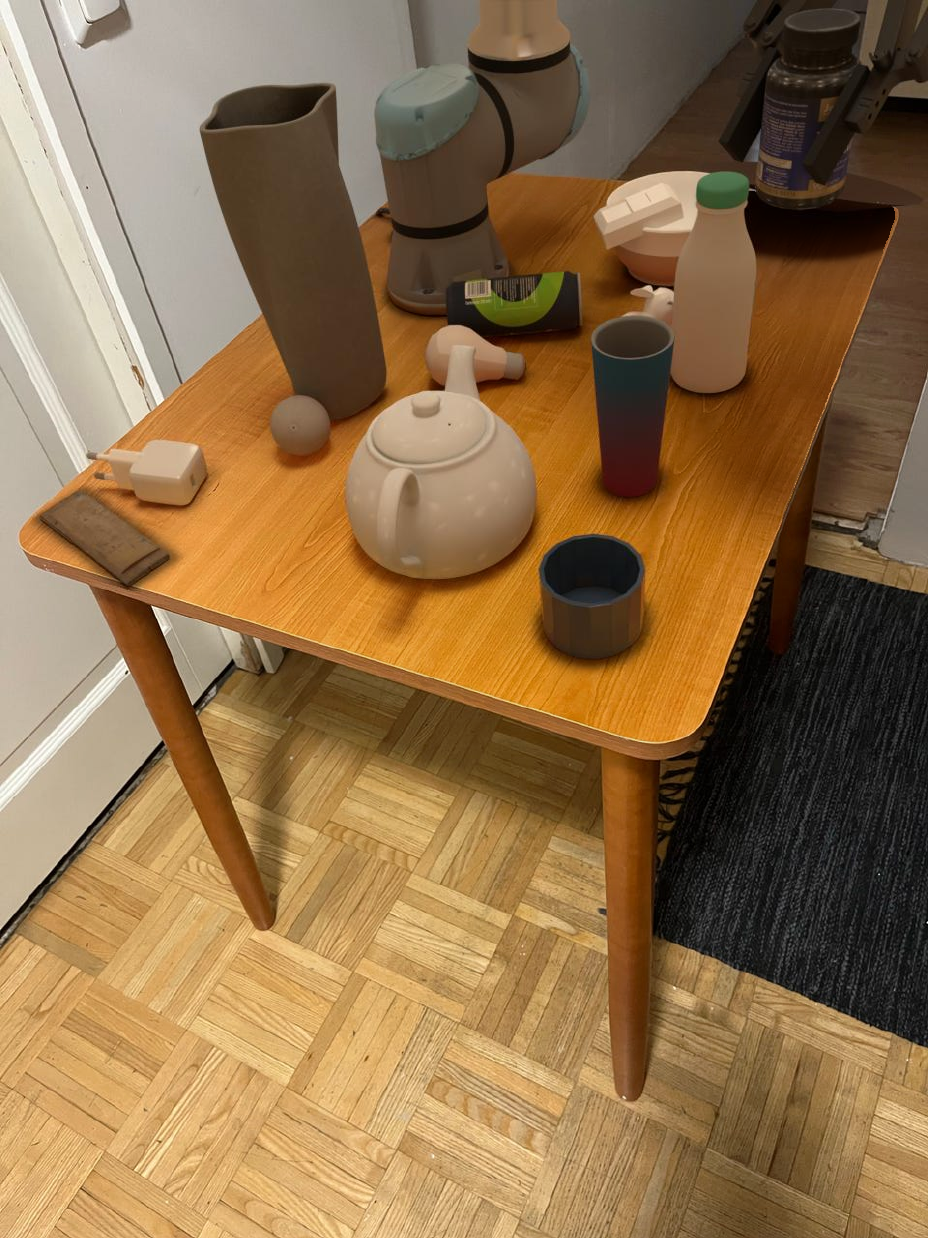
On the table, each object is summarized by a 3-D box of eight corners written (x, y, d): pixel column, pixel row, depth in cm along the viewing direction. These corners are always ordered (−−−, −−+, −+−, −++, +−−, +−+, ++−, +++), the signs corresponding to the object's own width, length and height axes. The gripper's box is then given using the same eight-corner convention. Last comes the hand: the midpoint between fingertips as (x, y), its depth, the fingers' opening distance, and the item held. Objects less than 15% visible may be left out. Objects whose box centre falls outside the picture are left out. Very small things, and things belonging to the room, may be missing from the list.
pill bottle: (816, 219, 65) (844, 39, 57) (737, 201, 68) (753, 29, 60) (858, 184, 68) (890, 8, 60) (780, 169, 71) (801, -1, 63)
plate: (722, 156, 134) (732, 128, 132) (918, 218, 126) (932, 189, 124) (663, 174, 113) (673, 141, 110) (895, 250, 105) (911, 216, 103)
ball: (318, 463, 100) (345, 413, 98) (305, 470, 94) (334, 417, 92) (268, 432, 99) (295, 382, 98) (252, 437, 93) (281, 384, 92)
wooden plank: (83, 494, 98) (42, 522, 96) (78, 485, 97) (35, 512, 95) (171, 557, 88) (127, 589, 86) (166, 547, 87) (121, 579, 85)
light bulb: (533, 323, 101) (431, 306, 100) (532, 367, 97) (426, 350, 96) (520, 368, 106) (423, 353, 105) (519, 411, 103) (418, 396, 102)
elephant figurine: (692, 265, 95) (678, 250, 100) (588, 331, 98) (579, 313, 104) (722, 326, 99) (706, 309, 104) (620, 388, 102) (610, 368, 107)
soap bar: (684, 217, 106) (679, 195, 104) (607, 249, 107) (601, 228, 105) (671, 199, 109) (667, 177, 107) (597, 230, 110) (591, 209, 109)
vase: (411, 371, 106) (359, 77, 84) (371, 437, 98) (302, 131, 76) (311, 364, 109) (237, 79, 87) (265, 426, 101) (171, 131, 80)
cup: (673, 462, 90) (681, 317, 79) (659, 508, 86) (666, 362, 75) (602, 454, 92) (601, 312, 81) (585, 498, 88) (581, 355, 77)
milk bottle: (745, 396, 96) (768, 197, 81) (667, 394, 97) (676, 200, 83) (745, 354, 101) (767, 160, 86) (671, 354, 102) (681, 163, 88)
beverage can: (448, 343, 106) (583, 331, 105) (443, 285, 104) (580, 271, 102) (453, 335, 112) (581, 324, 110) (448, 280, 110) (578, 267, 108)
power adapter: (112, 463, 99) (86, 499, 95) (98, 425, 96) (71, 461, 92) (212, 475, 98) (190, 513, 94) (202, 437, 94) (179, 475, 90)
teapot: (314, 512, 91) (278, 390, 81) (480, 440, 96) (465, 317, 86) (401, 630, 79) (371, 504, 69) (585, 541, 84) (582, 411, 74)
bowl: (765, 251, 115) (773, 185, 109) (693, 310, 108) (698, 242, 102) (653, 223, 123) (655, 161, 118) (579, 276, 116) (578, 212, 110)
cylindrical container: (525, 611, 79) (520, 558, 74) (607, 574, 81) (607, 520, 76) (576, 674, 73) (573, 621, 69) (662, 633, 75) (665, 579, 71)
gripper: (1136, -152, 56) (912, 223, 62) (853, -161, 67) (686, 158, 73) (1126, -256, 50) (880, 169, 56) (818, -247, 61) (639, 107, 67)
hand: (771, 162), depth 64 cm, fingers closed on pill bottle, 6 cm apart
